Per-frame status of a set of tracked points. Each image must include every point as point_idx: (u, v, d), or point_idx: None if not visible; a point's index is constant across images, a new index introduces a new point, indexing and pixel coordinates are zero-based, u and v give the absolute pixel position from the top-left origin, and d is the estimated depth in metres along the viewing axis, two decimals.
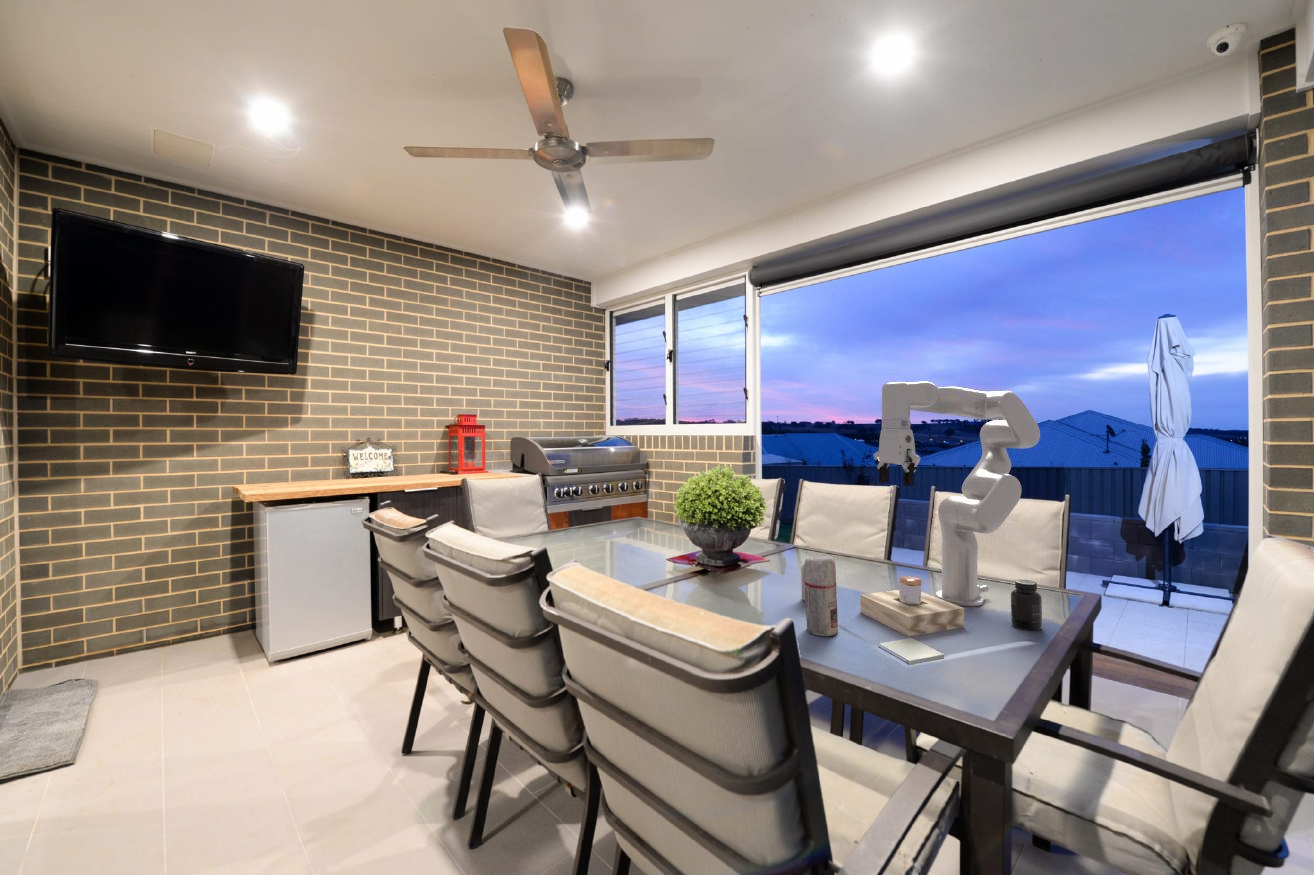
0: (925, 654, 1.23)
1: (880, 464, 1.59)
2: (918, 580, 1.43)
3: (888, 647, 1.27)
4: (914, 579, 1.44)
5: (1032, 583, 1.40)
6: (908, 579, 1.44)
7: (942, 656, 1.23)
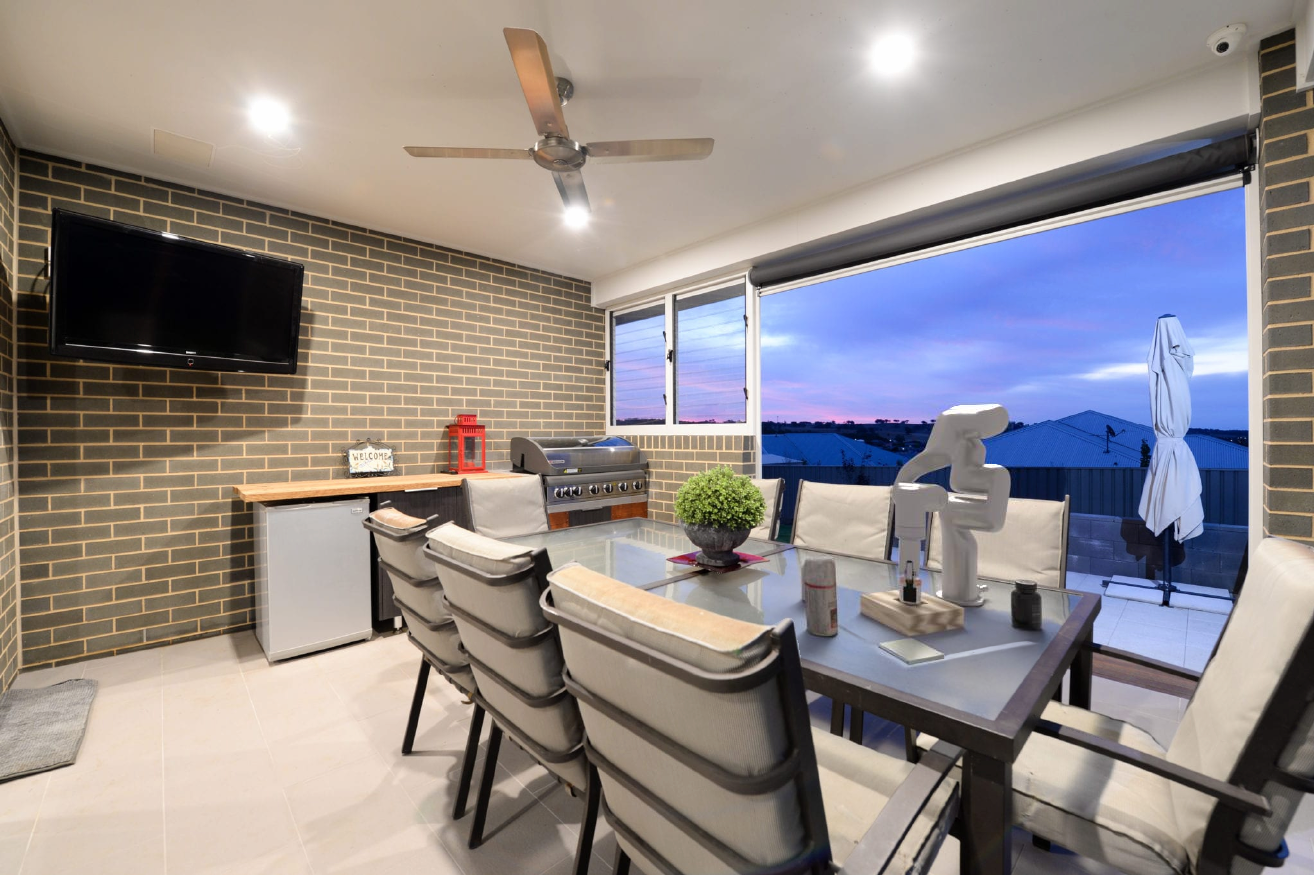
0: (925, 654, 1.23)
1: None
2: (918, 580, 1.43)
3: (888, 647, 1.27)
4: None
5: (1032, 583, 1.40)
6: None
7: (942, 656, 1.23)
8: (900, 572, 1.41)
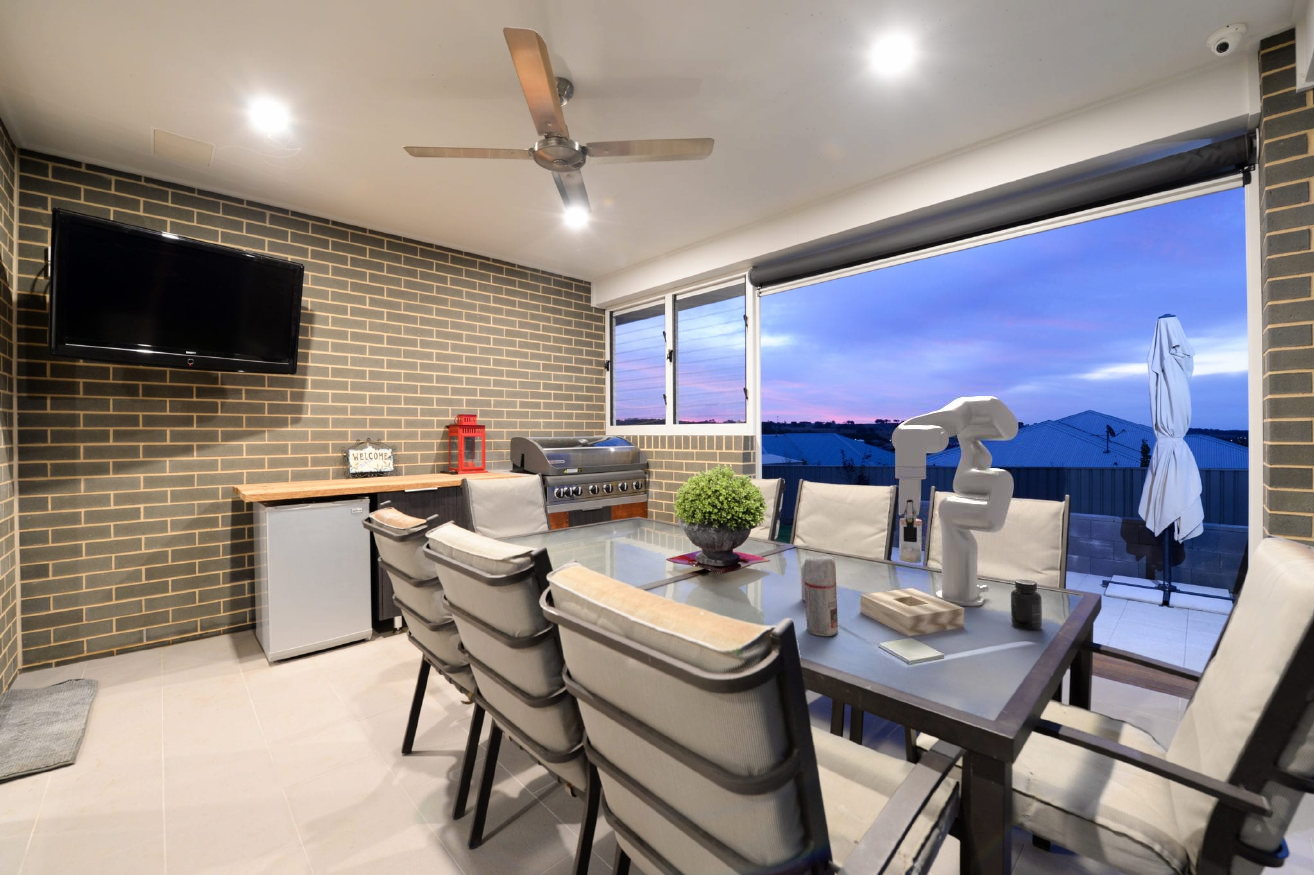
0: (925, 654, 1.23)
1: (915, 521, 1.41)
2: (919, 520, 1.43)
3: (888, 647, 1.27)
4: None
5: (1032, 583, 1.40)
6: None
7: (942, 656, 1.23)
8: (900, 512, 1.41)
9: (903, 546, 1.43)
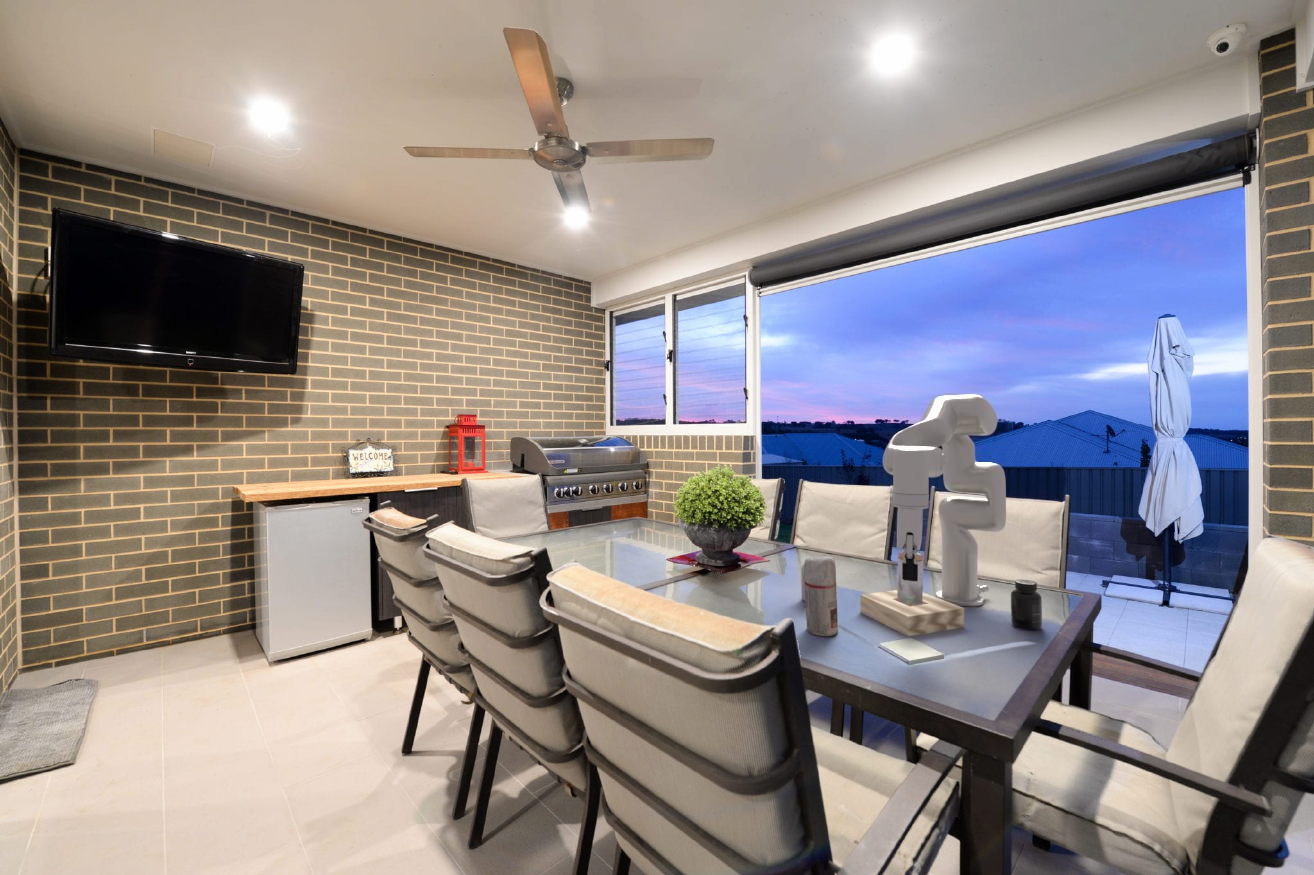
0: (925, 654, 1.23)
1: (916, 556, 1.22)
2: (920, 555, 1.25)
3: (888, 647, 1.27)
4: None
5: (1032, 583, 1.40)
6: None
7: (942, 656, 1.23)
8: (899, 546, 1.22)
9: (902, 584, 1.25)
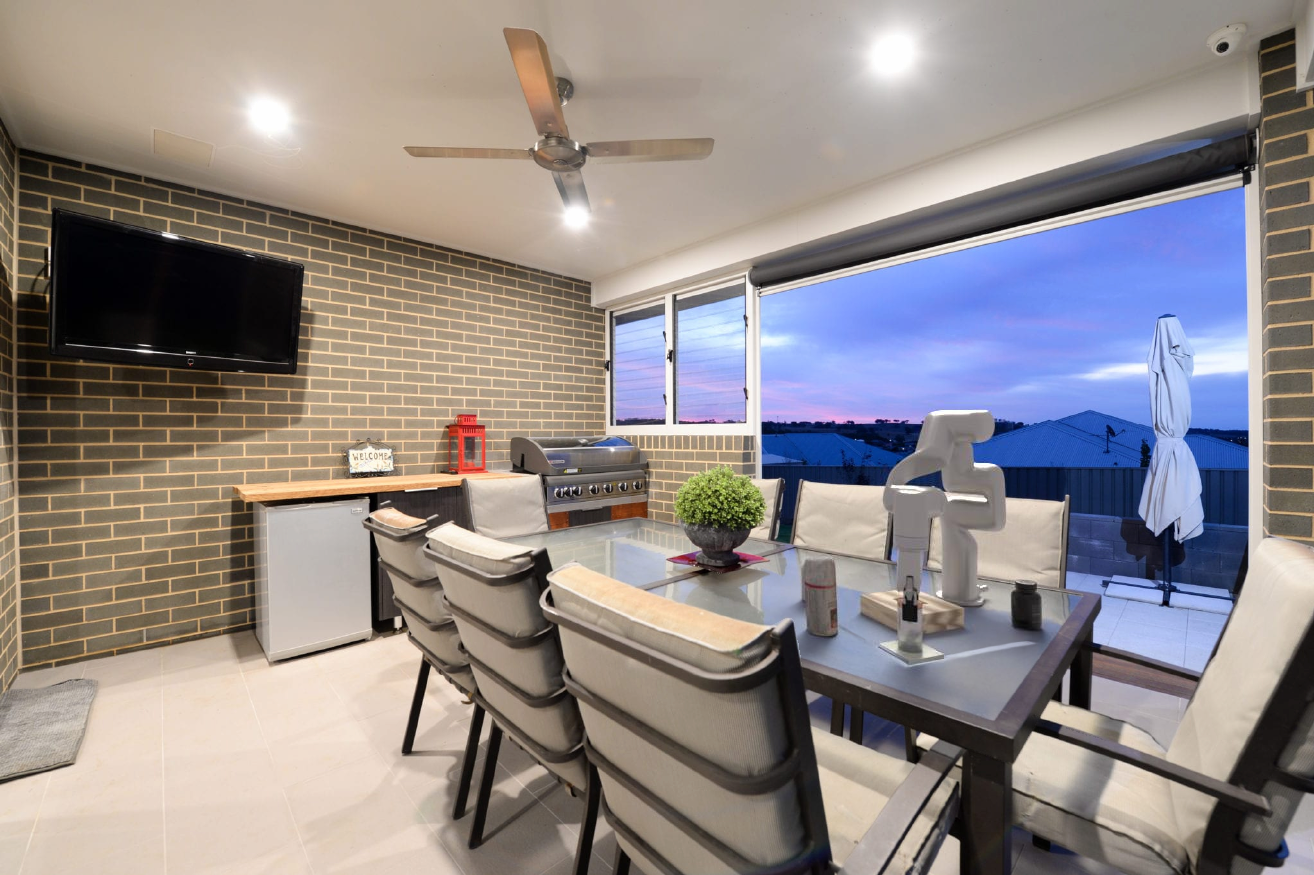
0: (925, 654, 1.23)
1: (916, 598, 1.21)
2: (919, 603, 1.25)
3: (888, 647, 1.27)
4: None
5: (1032, 583, 1.40)
6: None
7: (942, 656, 1.23)
8: (899, 589, 1.23)
9: (902, 632, 1.25)
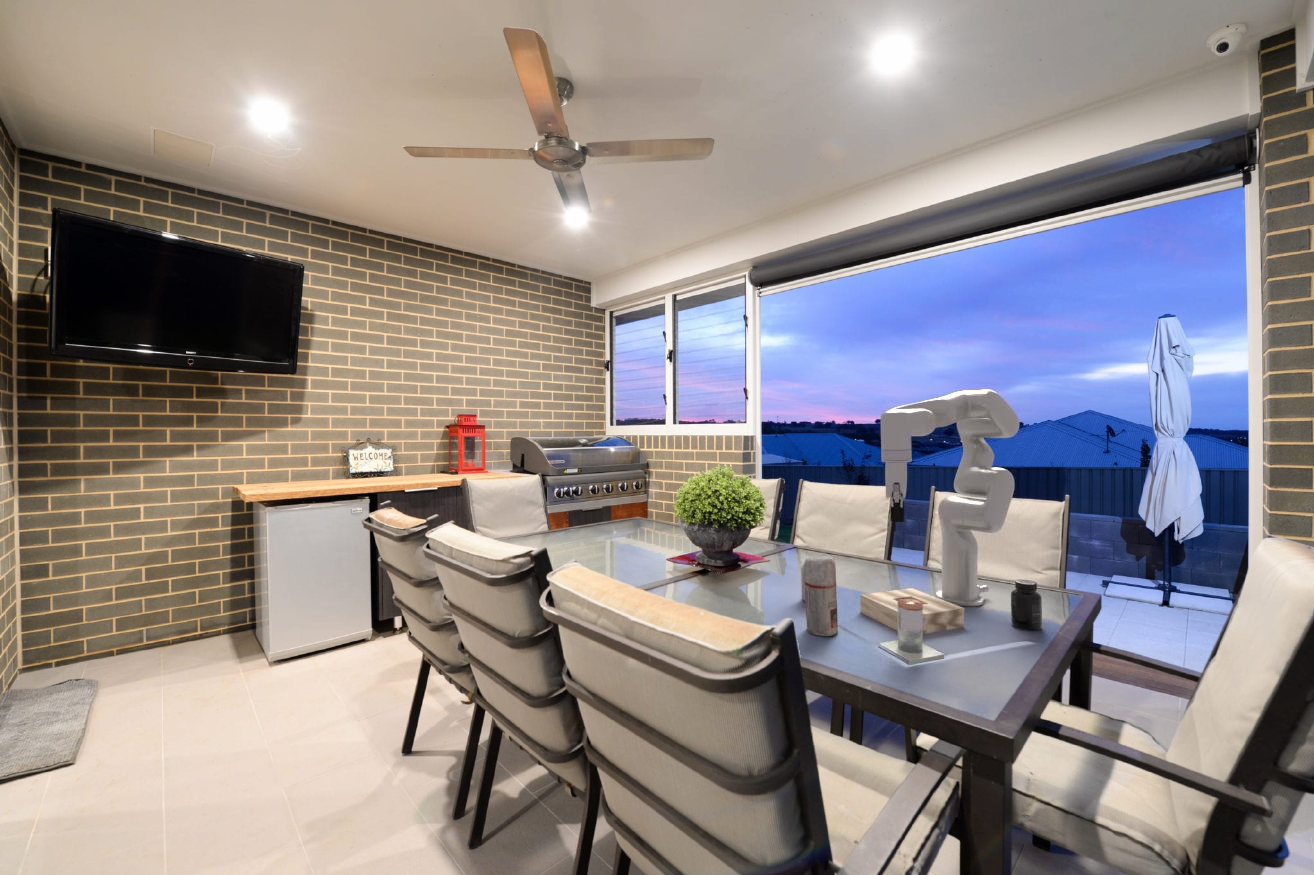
0: (925, 654, 1.23)
1: (902, 501, 1.41)
2: (919, 604, 1.25)
3: (888, 647, 1.27)
4: (914, 602, 1.26)
5: (1032, 583, 1.40)
6: (908, 602, 1.26)
7: (942, 656, 1.23)
8: (887, 495, 1.42)
9: (902, 633, 1.25)
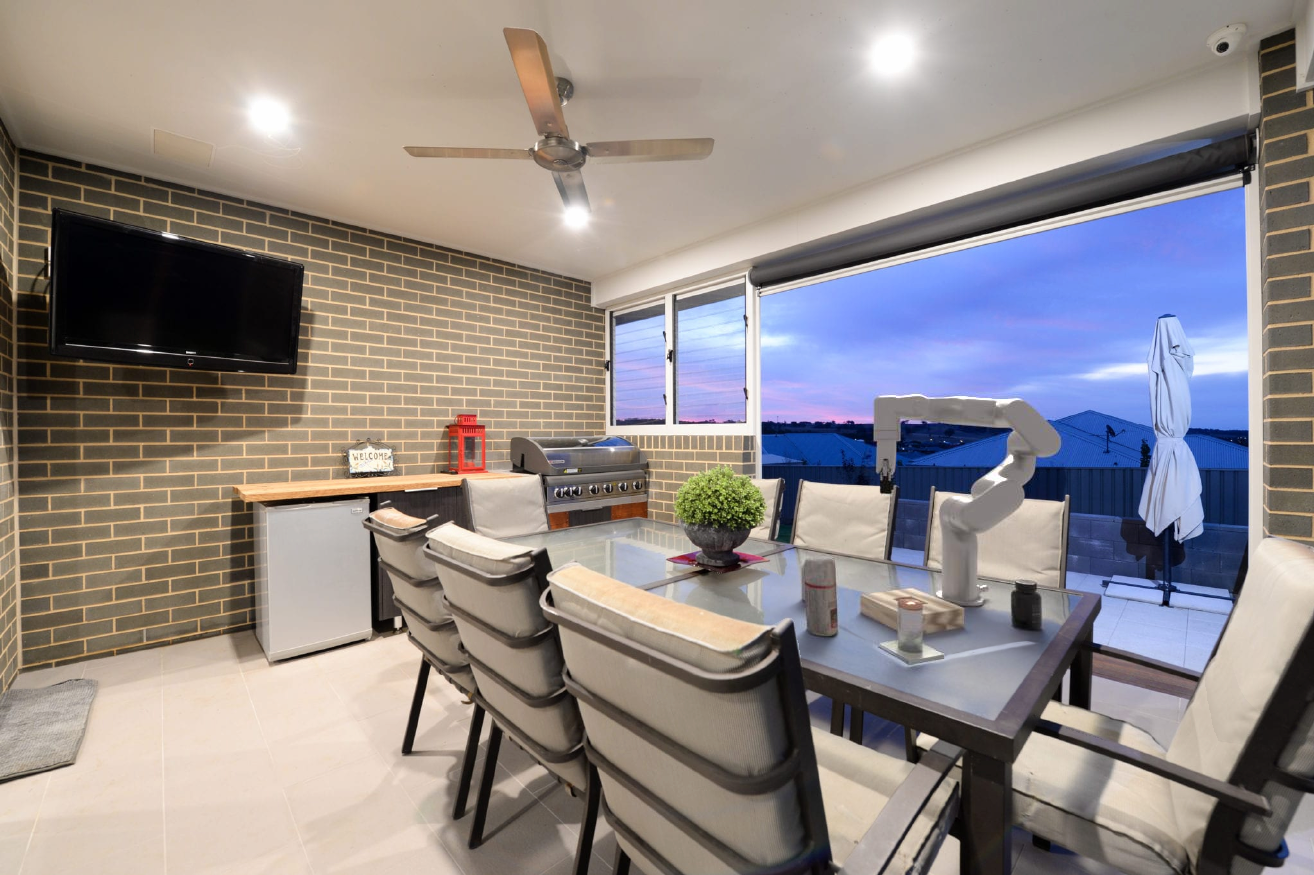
0: (925, 654, 1.23)
1: (890, 475, 1.59)
2: (919, 604, 1.25)
3: (888, 647, 1.27)
4: (914, 602, 1.26)
5: (1032, 583, 1.40)
6: (908, 602, 1.26)
7: (942, 656, 1.23)
8: (877, 469, 1.60)
9: (902, 633, 1.25)
